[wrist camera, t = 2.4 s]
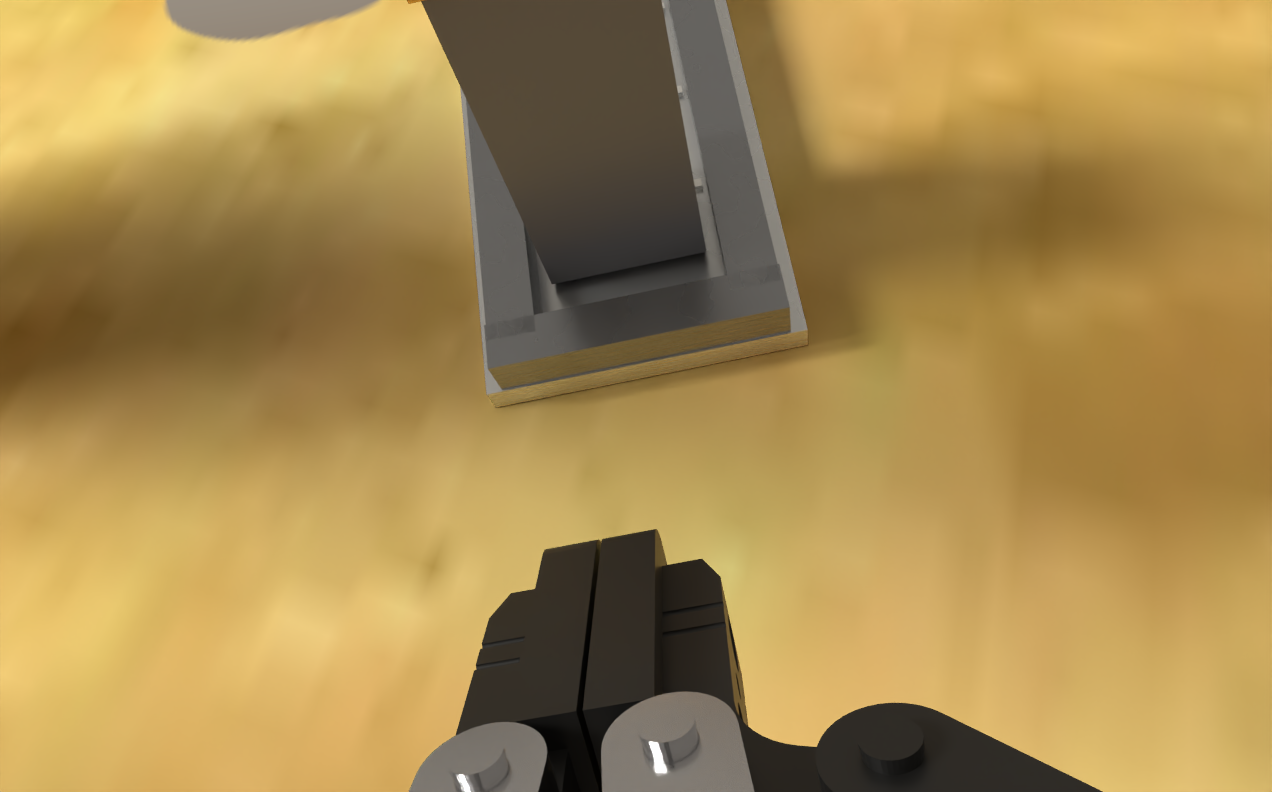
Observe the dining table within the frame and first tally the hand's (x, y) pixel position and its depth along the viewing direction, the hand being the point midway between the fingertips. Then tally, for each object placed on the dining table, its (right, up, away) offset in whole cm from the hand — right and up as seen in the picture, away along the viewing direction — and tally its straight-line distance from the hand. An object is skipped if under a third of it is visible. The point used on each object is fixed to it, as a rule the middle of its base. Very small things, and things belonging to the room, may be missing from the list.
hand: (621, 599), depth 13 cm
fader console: (-1, +14, +23) cm, 27 cm away
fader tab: (0, +8, +19) cm, 21 cm away
